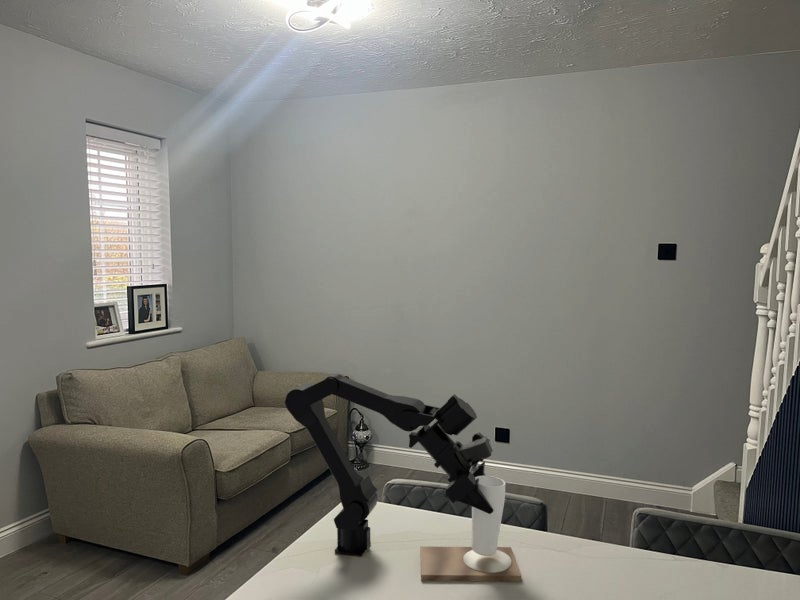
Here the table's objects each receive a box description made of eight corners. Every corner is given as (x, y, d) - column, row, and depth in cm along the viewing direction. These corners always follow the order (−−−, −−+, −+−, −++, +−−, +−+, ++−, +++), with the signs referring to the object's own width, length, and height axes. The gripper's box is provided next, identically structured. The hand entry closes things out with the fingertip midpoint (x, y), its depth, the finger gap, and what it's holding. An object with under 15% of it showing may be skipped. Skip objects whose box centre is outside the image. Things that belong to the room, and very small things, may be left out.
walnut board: (421, 580, 119) (421, 574, 119) (420, 551, 131) (420, 545, 131) (521, 581, 119) (521, 574, 119) (511, 552, 131) (511, 546, 131)
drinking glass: (492, 562, 120) (498, 489, 120) (462, 551, 124) (467, 481, 123) (505, 549, 126) (510, 480, 125) (475, 540, 130) (481, 472, 129)
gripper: (462, 437, 115) (519, 499, 113) (475, 413, 133) (524, 466, 131) (422, 473, 118) (477, 534, 116) (440, 445, 136) (488, 497, 134)
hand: (493, 505), depth 124 cm, fingers closed on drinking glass, 7 cm apart
